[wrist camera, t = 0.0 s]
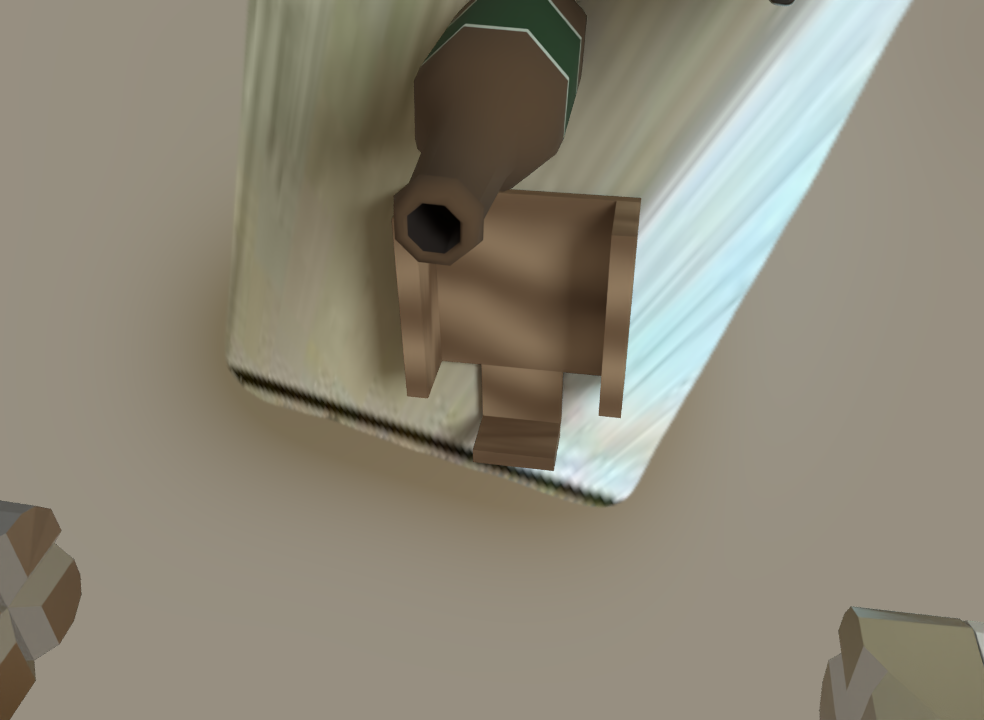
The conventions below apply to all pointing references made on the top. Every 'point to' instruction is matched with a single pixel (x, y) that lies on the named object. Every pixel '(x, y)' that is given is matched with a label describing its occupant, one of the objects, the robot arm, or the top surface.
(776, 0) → the dark grey oval piece
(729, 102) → the top surface
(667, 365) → the top surface
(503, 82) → the beer bottle
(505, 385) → the u rest
